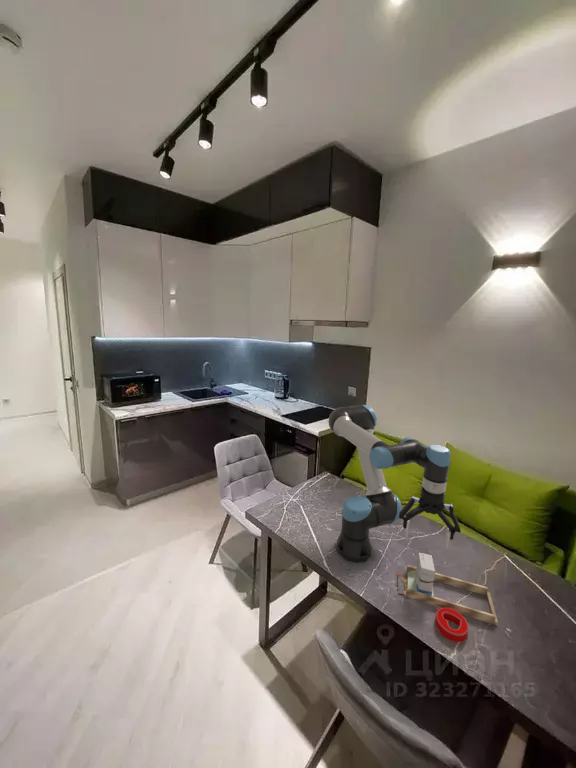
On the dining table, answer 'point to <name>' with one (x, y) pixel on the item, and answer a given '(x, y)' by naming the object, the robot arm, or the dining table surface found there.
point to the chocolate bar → (402, 584)
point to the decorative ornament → (456, 618)
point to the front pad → (413, 582)
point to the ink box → (425, 574)
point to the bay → (448, 604)
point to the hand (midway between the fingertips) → (426, 540)
